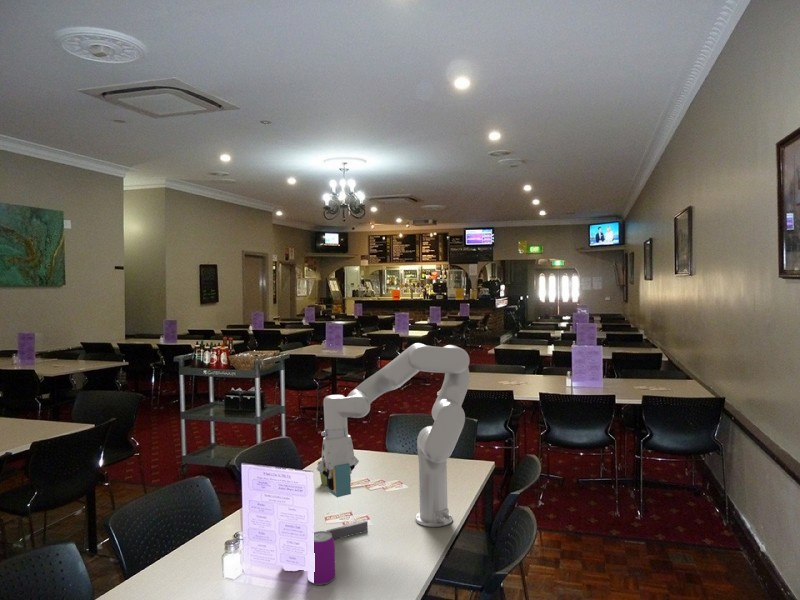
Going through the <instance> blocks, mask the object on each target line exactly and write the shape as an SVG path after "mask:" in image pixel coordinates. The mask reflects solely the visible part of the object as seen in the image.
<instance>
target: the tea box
mask: <svg viewBox="0 0 800 600" xmlns="http://www.w3.org/2000/svg"><path fill="white" fill-rule="evenodd" d="M350 477H351V474H350V464H349V463H348V464H343V465H339V466H335V469H334V470H333V473H332V478H333V484H334V490H330V489H329V488H328V487H327V489H328V491H327V492H329V493H330V494H331V495H333V496H334V497H335V498H340V497H345V496H348V495H352V484H351V483H350Z"/></svg>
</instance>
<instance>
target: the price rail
mask: <svg viewBox="0 0 800 600" xmlns="http://www.w3.org/2000/svg"><path fill="white" fill-rule="evenodd" d="M368 526H369V525H368V521H367V520H363V521H359V522H355V523H351V524H347V525H342V526H338V527H334V528H331V529H326V530H325V531H327V532H330V533H331V534H332V537H333V539H334V540H338V539H342V538H346V537H349V536H348V535H350V536H353V535H352V534H354V535H357V534H356V533H358V534H361V533H360V532H362V533H365V532H364V531H366V532H368V529H369V528H368ZM345 536H346V537H345ZM341 537H342V538H341ZM337 538H338V539H337Z"/></svg>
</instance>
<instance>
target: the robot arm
mask: <svg viewBox="0 0 800 600" xmlns="http://www.w3.org/2000/svg"><path fill="white" fill-rule="evenodd" d="M470 362H471V361H470V355H469V354H468V352H467V351H466V350H465V349H463V348H462V347H459V346H457V345H454V344H448V345H444V346H432V345H428V344H427V345H426V344H424V343H421V342H415V343H412V344H411V345H410V346H409V347H407V348H406V349H404V351H402V352H401V353H400V354H399V355H397V356H396V357H395V358H394V359H393V360H391V361H390V362H388V363H387V364H386V365H385V366H383V367H382V368H381V369H379V370H378V371H376V372H375V373H374V374H372V375H370V376H369V377H367V378H366V379H364V380H363V381H362V382H361V383H360V384H359V385H357V386H356V387H355V388H354V389H353V390H351V391H350V392H349V393H348V394H347V396H345V395H343V394H330V395H326V396H325V397H324V398H323V418H324V419H323V422H324V429H323V431H321V432H320V434H321V437H323V440H322V447H321V460H322V461H321V460H320V461H321V462H320V464H319V465H317V467H316V471H317V472H319V473H320V472H321V473H322V474H324V475H325V476H326V477H327V485H326V486H327V489H328V488H329V489H330V490H334V484H333V478H332V473H333V470H334V469H335V466H339V465H343V464H348V463H349V464H350V475H351V474H352V472H353V470H354V469H355V467H356V466H357V465H358V464H359V462H360V461H359V459H358V458H357V457H356V455H355V451H354V445H353V440H352V437H351V435H350V434H349V431H348V418H354V419H356V418H357V419H360V418H364V417H366V416H367V415H368V414H369V413H370V411H371V404H372V402H374V401H375V400H376V399H377V398H379V397H380V396H382V395H384V394H385V393H388V392H391V391H394V390H398V388H399V389H400V388H401V387H402V386H403V385H404V384H405V383H407V382H408V381H409V380H411V378H413V377H414V376H415V375H417V374H418V373H419V372H425V373H426V372H427V373H434V374H435V373H436V374H438V373H439V374H440V373H441V374H444V379H443V382H442V385H441V388H440V391H439V393H438V395H437V397H436V399H435V402H434V403H433V405H432V407H431V408H432V409H431V416H432V419H433V420H434V422H433V424H432V425H427V426H425V427H423V428H422V429H421V430H420V431H419V433H418V436H417V437H416V439H417V440H416V447H417V449H416V450H417V456H418V457H417V458H418V459H417V460H418V484H419V485H418V489H419V491H418V492H419V493H418V495H419V512H417V513H416V514H415V522H416V523H418V524H419V525H421V526H424V527H430V528H440V527H444V526H447V525H449V524H451V523H452V521H453V520H454V519H453V515H452V513H450V512H449V511H450V510H449V507H448V503H449V502H448V500H449V499H448V465H447V460H448V459H449V458H450V457H451V455H452V453H453V451H454V449H455V447H456V445H457V442H458V440H459V438H460V436H461V433H462V432H463V429H464V425H465V422H466V414H465V411H464V409H463V407H462V405H463V403H464V400H465V397H466V394H467V392H468V389H469V385H470V370H469V369H470V368H469V366H470ZM323 467H326V471H325V470H323ZM351 482H352V480H351V476H350V484H351Z"/></svg>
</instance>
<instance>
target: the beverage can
mask: <svg viewBox="0 0 800 600" xmlns="http://www.w3.org/2000/svg"><path fill="white" fill-rule="evenodd" d="M313 533H314V553H315V572H314V584H316V585H315V586H324V585H323V584H325V585H328V584H330V583H331V582H333V580H335V577H336V544H335V543H336V542H335V539H333V537H332V534H331V533H330V532H327V531H326V530H320V531H319V530H318V531H314V532H313ZM329 582H330V583H329ZM327 583H328V584H327ZM314 584H313V585H314Z"/></svg>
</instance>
